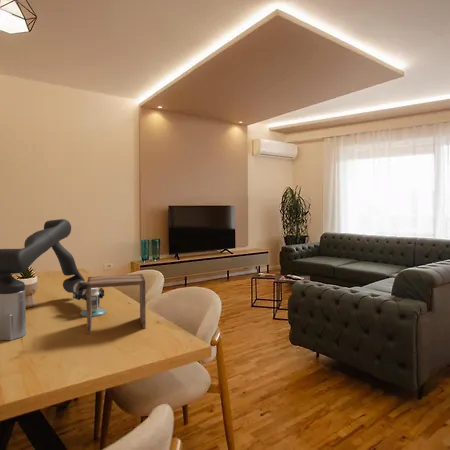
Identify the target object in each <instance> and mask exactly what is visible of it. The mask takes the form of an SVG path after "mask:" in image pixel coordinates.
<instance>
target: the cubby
mask: <svg viewBox="0 0 450 450" xmlns="http://www.w3.org/2000/svg"><path fill="white" fill-rule="evenodd" d="M86 282H87V284H86V286H87V307H86V310H87V317H86V323H87V325H86V328H87V329H86V331H87V335H91V331H92V324H93V317H92V305H91V288H98V289H100V288H111V287H112V288H113V287H114V288H115V287H125V286H126V287H127V286H131V287H132V286H139V319H140V322H141V325H142V329H146V325H147V324H146V280H145V277H144V274H143V273H137V274H136V273H135V274H133V273H132V274H121V275H120V274H119V275H118V274H117V275H102V276H101V275H100V276H89V277H87V281H86Z"/></svg>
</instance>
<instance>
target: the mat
mask: <svg viewBox="0 0 450 450" xmlns="http://www.w3.org/2000/svg"><path fill="white" fill-rule="evenodd" d="M106 312H107V310H106V309H105V308H99V309H98V310H94V311H92V318H93V317H94V318H95V317H100V316H102V315H105V314H106ZM79 314H80V316H81V317H85V318H87V309H84V310H82V311H80V313H79Z"/></svg>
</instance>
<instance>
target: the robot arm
mask: <svg viewBox="0 0 450 450" xmlns="http://www.w3.org/2000/svg"><path fill="white" fill-rule="evenodd" d="M71 233H72V225H71V222H70V221H69V220H67V219H64V218H60V219H51V220H47V221H45V222H44V225H43V229H41V230H37V231H35V232H34V233H32V234H31V235H29V236H28V237H27V238H26V239H25V241H24V247H22V248H0V341H2V340H3V341H13V340H16V339H19V338H22V337H25V336H26V335H27V317H26V316H27V314H26V313H27V311H26V310H27V309H26V284H25V282H24V281H22V280H19V279H16V277H14V276H13V275H12V274H21V273H24V272H25V271H26V270H28V269H29V267H31V266H32V265H33V263H34V262H35V261H36V260H37V259H39V257H41V256H42V255H43V254H45V253H46V252H47V251H48V250H50V249H52V250H53V252H54V254H55V257H56V258H57V260H58V262H59V266H60V268H61V272H62V274H63V275H64V276H67V277H69V276H70V277H69V278H66V279H64V280H63V282H62V287H63V290H64V291H65V292H67V293H70V294H71V293H72V298H73V299H75V300H77V301H81V300H84V301H85V302H86V301H87V295H86V294H87V286H86V284H87V281H86V280H85V278H84V277H83V275H82V273H80V271H79V269H78V267H77V265H76V260H75V258H74V255H73V254H72V253H70V251H68V249H66V248H65V247H64V246H63V245H62V244H61V242H60V241H61V240H64V239H65V238H68V237H69V236H70V234H71ZM103 288H104V287H100V288H98V292H99V294H100V300H101V299H103V298H104V296H105V289H103Z"/></svg>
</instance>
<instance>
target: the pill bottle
mask: <svg viewBox="0 0 450 450" xmlns="http://www.w3.org/2000/svg"><path fill="white" fill-rule="evenodd" d="M98 290H99V288H91V305H92V311H94V310H98V309H99V308H100V306H101V305H100V302H101V301H100V300H101V298H100V294H99V292H98ZM86 295H87V294H86ZM85 303H86V308H87V301H86V300H85Z"/></svg>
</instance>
